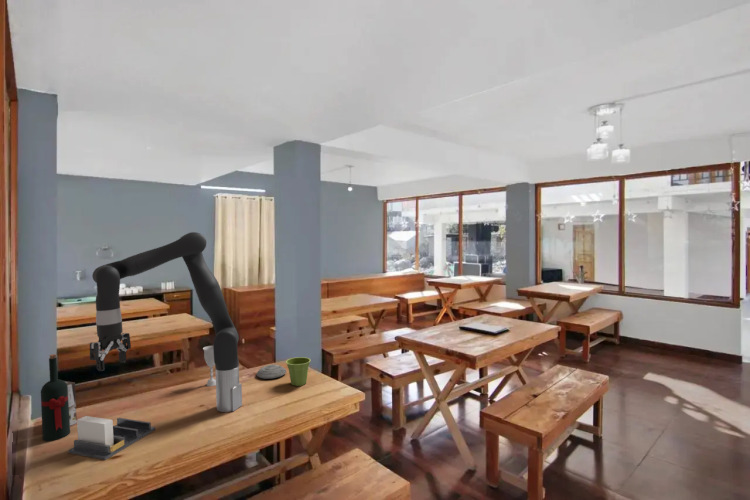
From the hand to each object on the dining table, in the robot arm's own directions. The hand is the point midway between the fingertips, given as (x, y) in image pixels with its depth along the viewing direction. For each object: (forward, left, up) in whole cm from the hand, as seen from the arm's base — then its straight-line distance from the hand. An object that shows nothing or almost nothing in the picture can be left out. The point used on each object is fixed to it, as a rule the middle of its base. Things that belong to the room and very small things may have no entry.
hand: (112, 366), depth 140 cm
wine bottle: (+21, +5, -26) cm, 34 cm away
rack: (-2, +2, -26) cm, 26 cm away
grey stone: (-23, -69, -27) cm, 77 cm away
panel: (0, +7, -25) cm, 26 cm away
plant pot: (-42, -62, -26) cm, 79 cm away
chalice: (-1, -51, -26) cm, 58 cm away
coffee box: (+29, -2, -26) cm, 40 cm away
